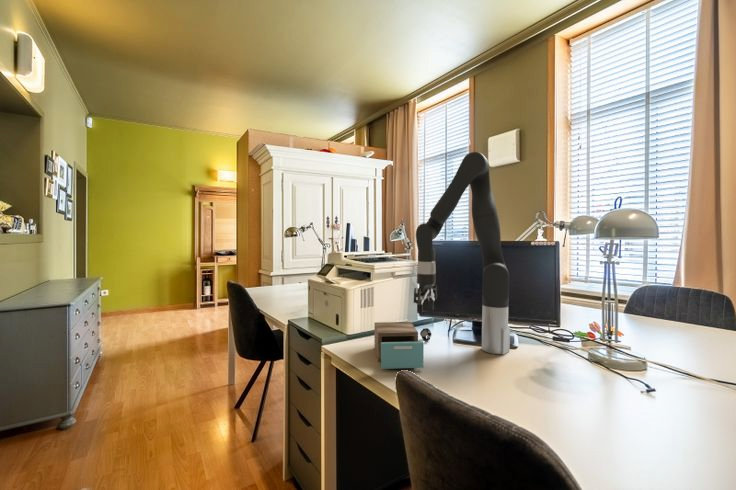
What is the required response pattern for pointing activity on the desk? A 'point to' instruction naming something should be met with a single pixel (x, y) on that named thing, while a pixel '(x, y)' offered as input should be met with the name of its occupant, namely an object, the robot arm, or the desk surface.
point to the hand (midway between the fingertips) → (425, 311)
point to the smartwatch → (425, 334)
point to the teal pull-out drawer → (401, 355)
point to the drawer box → (393, 334)
